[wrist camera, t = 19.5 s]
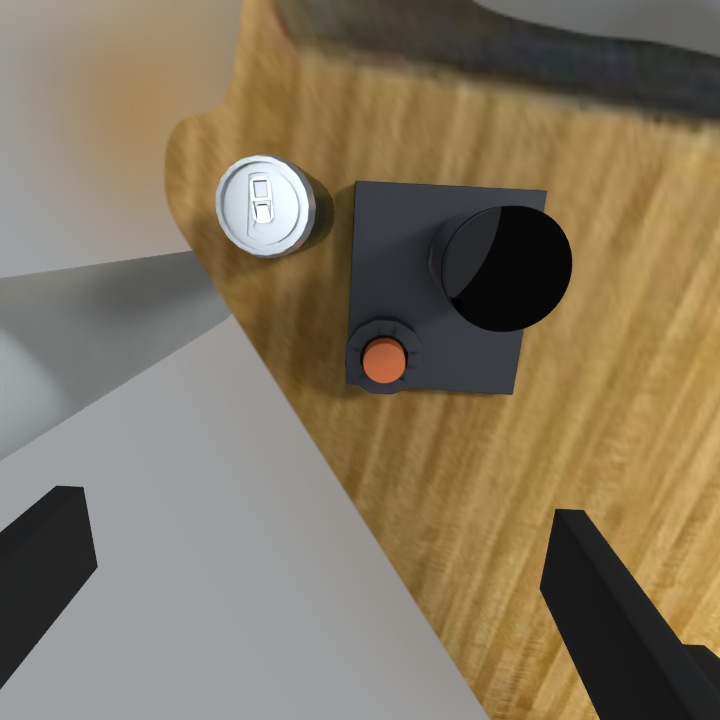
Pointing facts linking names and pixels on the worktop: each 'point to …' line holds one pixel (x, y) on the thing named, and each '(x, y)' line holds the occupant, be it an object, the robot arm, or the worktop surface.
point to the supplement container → (501, 266)
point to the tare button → (384, 360)
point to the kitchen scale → (422, 291)
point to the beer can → (273, 206)
